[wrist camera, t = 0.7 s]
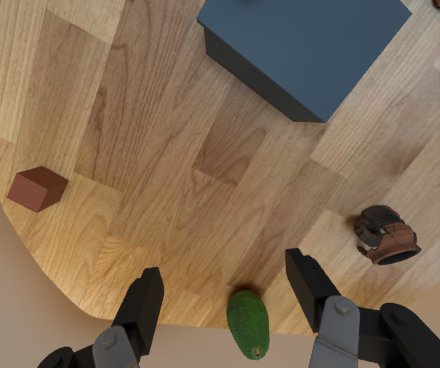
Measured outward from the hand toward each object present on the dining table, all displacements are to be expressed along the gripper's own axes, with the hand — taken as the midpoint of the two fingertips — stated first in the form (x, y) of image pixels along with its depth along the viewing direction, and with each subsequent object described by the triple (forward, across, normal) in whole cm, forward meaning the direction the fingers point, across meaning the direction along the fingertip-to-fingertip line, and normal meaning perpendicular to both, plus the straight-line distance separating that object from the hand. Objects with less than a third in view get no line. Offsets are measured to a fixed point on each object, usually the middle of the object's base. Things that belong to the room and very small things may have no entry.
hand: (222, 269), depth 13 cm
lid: (+15, -11, -17) cm, 25 cm away
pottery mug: (+23, -28, +15) cm, 39 cm away
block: (+24, +28, -2) cm, 37 cm away
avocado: (+23, -2, +28) cm, 36 cm away
